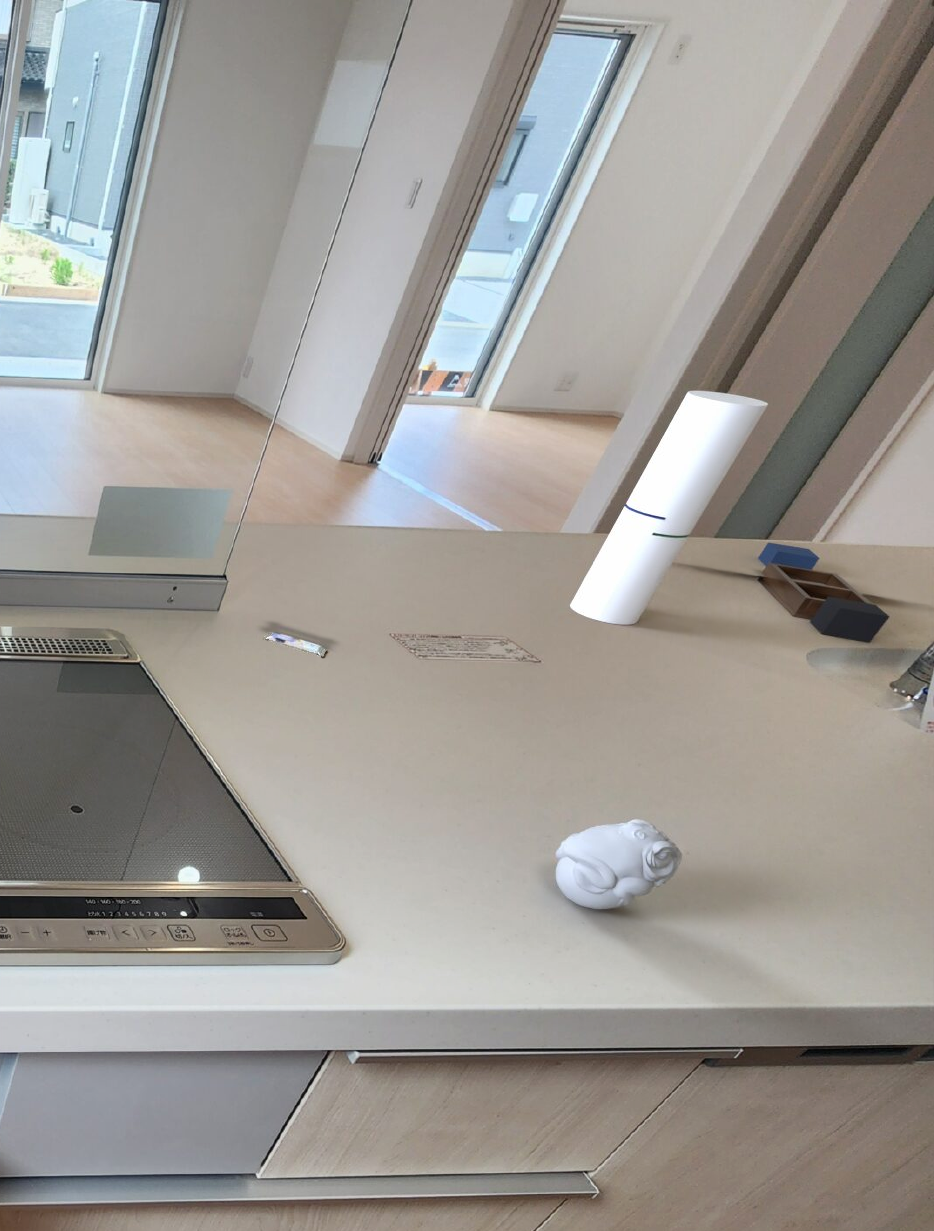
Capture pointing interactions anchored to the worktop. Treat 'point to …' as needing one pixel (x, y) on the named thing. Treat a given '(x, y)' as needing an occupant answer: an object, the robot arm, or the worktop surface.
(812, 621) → the pad charcoal
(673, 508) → the cylindrical container
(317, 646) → the granola bar
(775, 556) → the pad blue
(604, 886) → the frog figurine
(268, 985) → the worktop surface
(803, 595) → the holder
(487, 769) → the worktop surface
